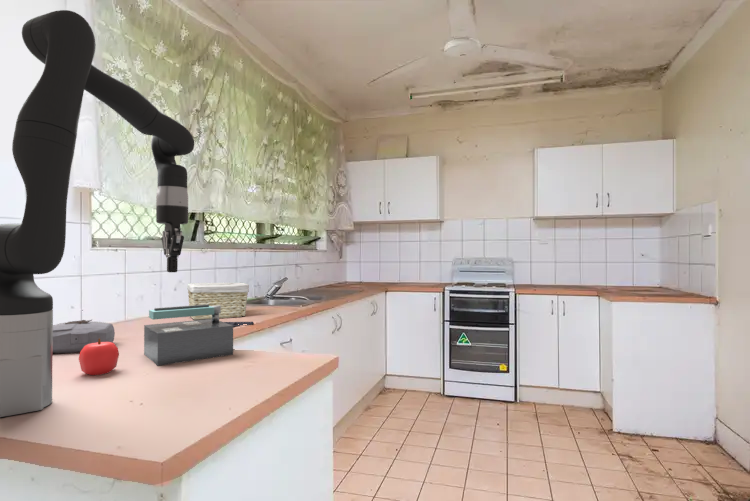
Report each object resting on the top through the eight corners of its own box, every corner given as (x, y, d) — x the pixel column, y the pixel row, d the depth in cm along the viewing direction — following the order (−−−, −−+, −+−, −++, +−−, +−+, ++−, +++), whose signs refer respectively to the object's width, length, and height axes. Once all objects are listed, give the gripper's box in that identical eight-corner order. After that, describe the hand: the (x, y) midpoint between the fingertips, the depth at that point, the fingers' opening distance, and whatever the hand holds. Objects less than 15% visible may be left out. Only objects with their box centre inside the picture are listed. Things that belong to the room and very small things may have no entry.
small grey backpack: (118, 341, 137) (41, 346, 129) (118, 315, 137) (41, 318, 129) (108, 351, 122) (21, 358, 115) (108, 322, 123) (21, 326, 115)
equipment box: (233, 354, 119) (233, 317, 119) (157, 365, 107) (157, 324, 107) (213, 345, 131) (213, 311, 131) (144, 354, 119) (144, 316, 119)
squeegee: (203, 333, 154) (203, 325, 154) (216, 325, 169) (216, 318, 169) (243, 333, 155) (243, 325, 155) (253, 325, 170) (253, 318, 170)
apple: (99, 378, 96) (99, 342, 96) (69, 376, 98) (69, 341, 98) (127, 369, 104) (127, 335, 104) (98, 367, 105) (98, 334, 105)
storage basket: (241, 312, 203) (241, 281, 203) (250, 317, 189) (250, 283, 189) (186, 316, 191) (186, 283, 191) (191, 321, 177) (191, 285, 177)
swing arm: (217, 311, 128) (217, 303, 128) (223, 313, 124) (223, 304, 124) (149, 317, 117) (149, 307, 117) (153, 319, 113) (153, 309, 113)
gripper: (195, 204, 109) (194, 272, 109) (180, 208, 119) (180, 271, 119) (162, 202, 104) (162, 273, 104) (150, 206, 115) (150, 271, 114)
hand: (172, 272), depth 112 cm, fingers closed
